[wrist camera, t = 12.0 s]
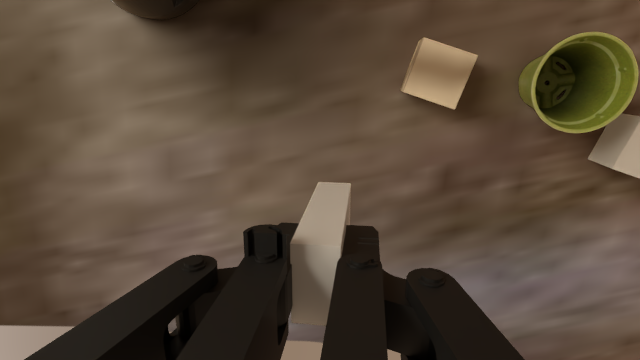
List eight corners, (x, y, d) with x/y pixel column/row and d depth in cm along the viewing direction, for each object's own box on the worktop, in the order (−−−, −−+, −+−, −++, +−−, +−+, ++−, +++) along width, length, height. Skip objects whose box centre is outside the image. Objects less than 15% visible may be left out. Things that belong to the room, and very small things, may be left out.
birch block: (446, 105, 47) (454, 109, 42) (399, 90, 47) (403, 92, 42) (466, 57, 45) (478, 55, 40) (418, 41, 45) (424, 37, 40)
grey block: (634, 175, 46) (664, 187, 41) (586, 158, 46) (611, 168, 42) (662, 129, 44) (697, 135, 40) (613, 112, 45) (642, 116, 40)
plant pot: (485, 93, 46) (510, 98, 37) (541, 22, 43) (582, 11, 35) (547, 137, 46) (586, 151, 38) (606, 69, 43) (662, 69, 35)
